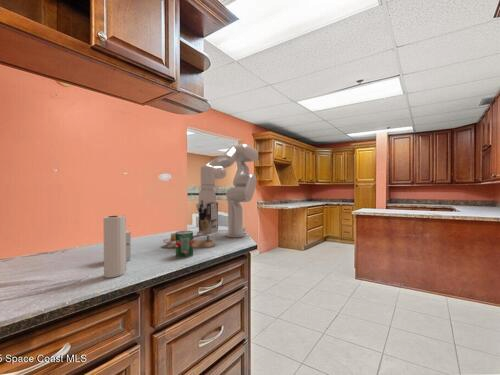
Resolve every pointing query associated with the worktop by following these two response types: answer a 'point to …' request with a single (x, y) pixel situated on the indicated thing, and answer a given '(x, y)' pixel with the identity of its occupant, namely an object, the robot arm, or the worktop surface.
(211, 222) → the coffee box
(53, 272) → the worktop surface
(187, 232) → the canned tomato
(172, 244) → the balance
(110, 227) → the paper towel roll
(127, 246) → the supplement box
